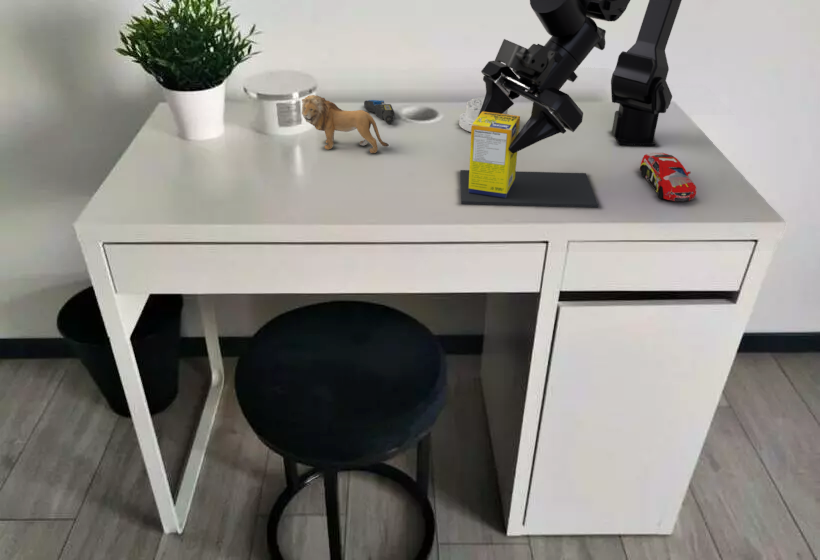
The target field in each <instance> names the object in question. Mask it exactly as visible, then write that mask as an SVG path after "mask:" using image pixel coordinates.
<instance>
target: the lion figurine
mask: <svg viewBox="0 0 820 560" xmlns="http://www.w3.org/2000/svg"><path fill="white" fill-rule="evenodd" d="M301 101H302V102H301V103H302V104H301V115H302V118H303V119H304V120H305V122H306V123H308V124H310V125H312V126H314V128H315V129H316V130H317V131H321V132H324V134H325V138H326V140H325V145H324V149H325V150H331V149H333V147H334V144H335V143H334V139H335V132H342V133H348V132H353V131H355V130H357V132H358V133H359V135H360V136H361V138H363V139H364V140H360V142H359V145H360V146H366V145H368V144H370V145H371V146H372V147H370V148H369V153H371V154H376V153H377V152H378V149H379V147H378V143H377V141H378V142H379V143H380V145H381V146H382V147H385V148H386V147H389V146H390V145H389V143H388V142H385V141H383V140H382V138H381V136H380V135H381V134H380V133H379V129H378V126H377V123H376V121H375V119H374V118H373V116H372V115H371V114H370V113H369V111H365V110H363V109H357V110H344V109H341V108H340V107H338V106H337V104H335V103H334V102H332V101H330V100H327V99H326V98H325V97H322V96H319V95H315V94H308V95H307V96H306V97H304V98H302V99H301ZM371 126H372V128H373V131H374V133H375V136H376V138H377V139H376V138H375V137H374V136H373V134H372V133H371V130H370V129H371Z"/></svg>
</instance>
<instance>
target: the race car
mask: <svg viewBox="0 0 820 560" xmlns="http://www.w3.org/2000/svg"><path fill="white" fill-rule="evenodd" d="M639 171H640V174H641V177H642V178H645V179H646V181H647V182H648V184H650V185H651V188H653V189H654V191H655V192H656V193H657V196H658V198H659V200H667V201H672V202H688V201H689V202H690V201H692V200H694V199H695V198H696V195H697V186H696V184H695V183H694V182H693V180H692V179H691V177H690V174H691V173H692V172H691V171H687V170H686V168H685V167H684V165H683V164H682V162H681V161H680V160H679V159H678V158H677V157H675V156H674V155H673V154H669V153H664V152H647V153H645V154H644V155H643V157H642V159H641V161H640V166H639Z"/></svg>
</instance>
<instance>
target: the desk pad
mask: <svg viewBox="0 0 820 560" xmlns="http://www.w3.org/2000/svg"><path fill="white" fill-rule="evenodd" d="M459 174H460V202H461V203H460V204H461V205H486V206H487V205H489V206H490V205H491V206H523V207H524V206H526V207H562V208H563V207H564V208H598V207H599V203H598V201H597V197H596V196H595V193H594V191H593V188H592V185H591V183H590V180H589V177H588V175H587V173H586V172H555V171H552V172H551V171H547V172H546V171H517V170H516V172H515V182H514V184H513V186H512V188H511V190H510V192H509V194H508V195H507V197H506V198H502V197H495V196H489V195H482V194H475V193H469V169H460V172H459Z"/></svg>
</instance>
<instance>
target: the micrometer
mask: <svg viewBox="0 0 820 560" xmlns="http://www.w3.org/2000/svg"><path fill="white" fill-rule="evenodd" d="M363 107H364V109H365V110H366V112H372V113H374V114H375V116H376V117H377V118H380V120H384V122H385V123H386V124H392V123H393V122H394V117H395V110H394V107H393V106H392V104H390V103H385V101H384V100H377V99H369V100H364V102H363Z"/></svg>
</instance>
